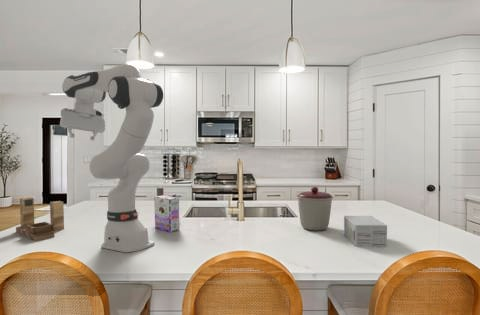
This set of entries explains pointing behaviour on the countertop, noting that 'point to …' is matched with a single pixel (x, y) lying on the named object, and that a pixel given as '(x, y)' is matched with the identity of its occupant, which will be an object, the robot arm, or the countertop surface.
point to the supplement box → (365, 231)
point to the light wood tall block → (57, 215)
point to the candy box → (167, 213)
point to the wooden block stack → (32, 222)
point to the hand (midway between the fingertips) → (82, 138)
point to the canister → (314, 209)
